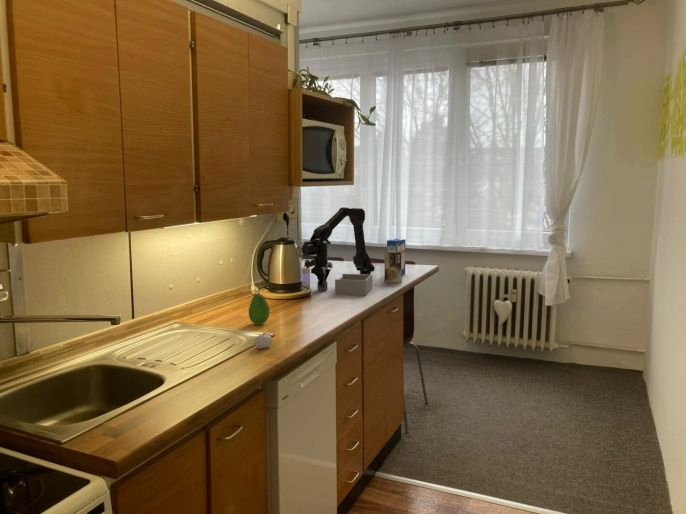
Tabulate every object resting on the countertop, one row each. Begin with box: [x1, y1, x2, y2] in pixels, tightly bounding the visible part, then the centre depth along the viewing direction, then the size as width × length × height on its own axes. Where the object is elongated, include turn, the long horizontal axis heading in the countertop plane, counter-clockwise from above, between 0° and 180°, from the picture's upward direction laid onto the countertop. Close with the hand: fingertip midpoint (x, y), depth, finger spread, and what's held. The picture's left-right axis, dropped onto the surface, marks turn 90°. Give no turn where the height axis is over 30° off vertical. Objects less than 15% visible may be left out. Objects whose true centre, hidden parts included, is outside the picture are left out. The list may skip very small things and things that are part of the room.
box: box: [334, 273, 373, 296], centre depth 273 cm, size 16×15×7 cm
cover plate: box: [316, 280, 328, 292], centre depth 277 cm, size 14×14×5 cm
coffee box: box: [383, 250, 403, 283], centre depth 297 cm, size 9×6×16 cm
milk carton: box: [386, 238, 406, 276], centre depth 316 cm, size 10×6×20 cm, turn 144°
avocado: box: [248, 293, 270, 326], centre depth 214 cm, size 8×8×12 cm
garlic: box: [254, 331, 273, 350], centre depth 185 cm, size 6×5×5 cm
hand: (322, 284), depth 277 cm, fingers open, 5 cm apart
